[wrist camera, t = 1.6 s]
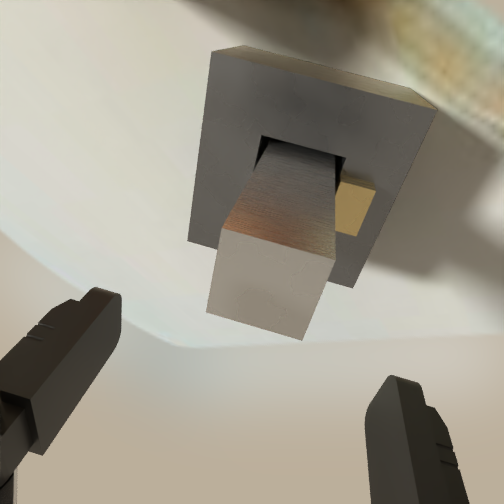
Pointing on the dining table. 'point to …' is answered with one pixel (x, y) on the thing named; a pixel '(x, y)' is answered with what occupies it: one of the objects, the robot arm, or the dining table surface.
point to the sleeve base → (306, 141)
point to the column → (278, 242)
